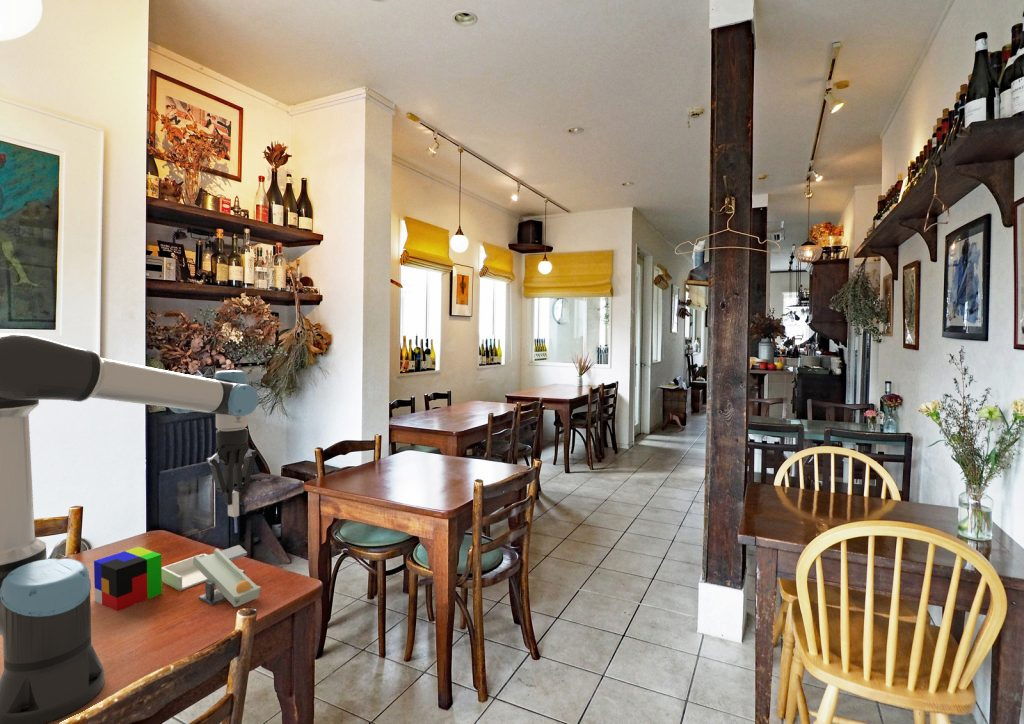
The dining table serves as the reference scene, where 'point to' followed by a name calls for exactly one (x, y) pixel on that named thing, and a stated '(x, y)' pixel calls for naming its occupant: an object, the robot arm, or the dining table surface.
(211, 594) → the fulcrum
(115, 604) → the puzzle toy
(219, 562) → the lever
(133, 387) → the robot arm
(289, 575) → the dining table surface
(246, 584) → the ball
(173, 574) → the tray
